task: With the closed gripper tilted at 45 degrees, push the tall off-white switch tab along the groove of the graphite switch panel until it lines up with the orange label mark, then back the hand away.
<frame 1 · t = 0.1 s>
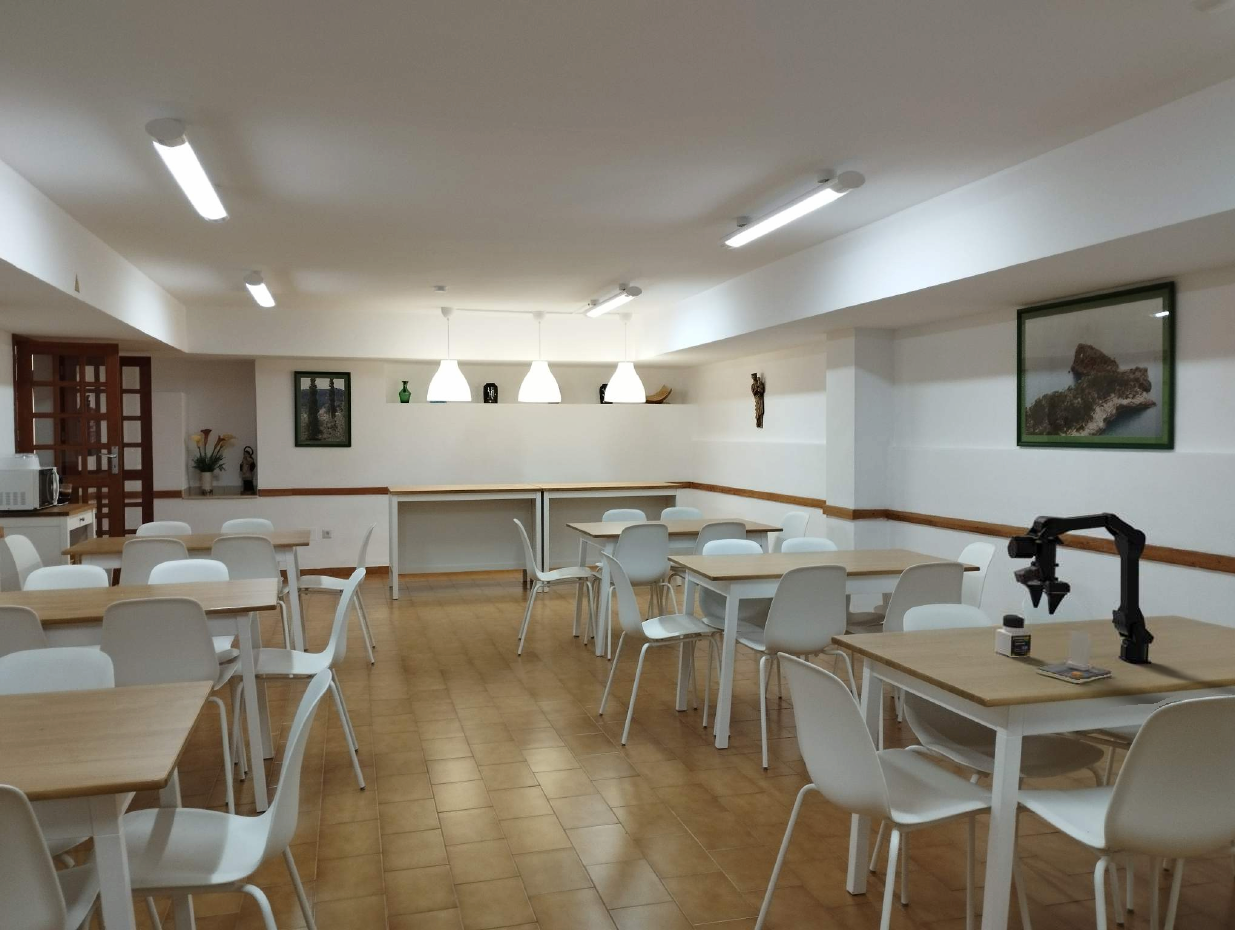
hand: (1043, 611, 264), 15 cm above the table, tool pointing down, fingers open, 9 cm apart
medicine bottle: (1012, 655, 271), on the table
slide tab: (1079, 650, 251), point 7 cm above the table, slide at 0.0 cm
switch panel: (1073, 674, 250), on the table
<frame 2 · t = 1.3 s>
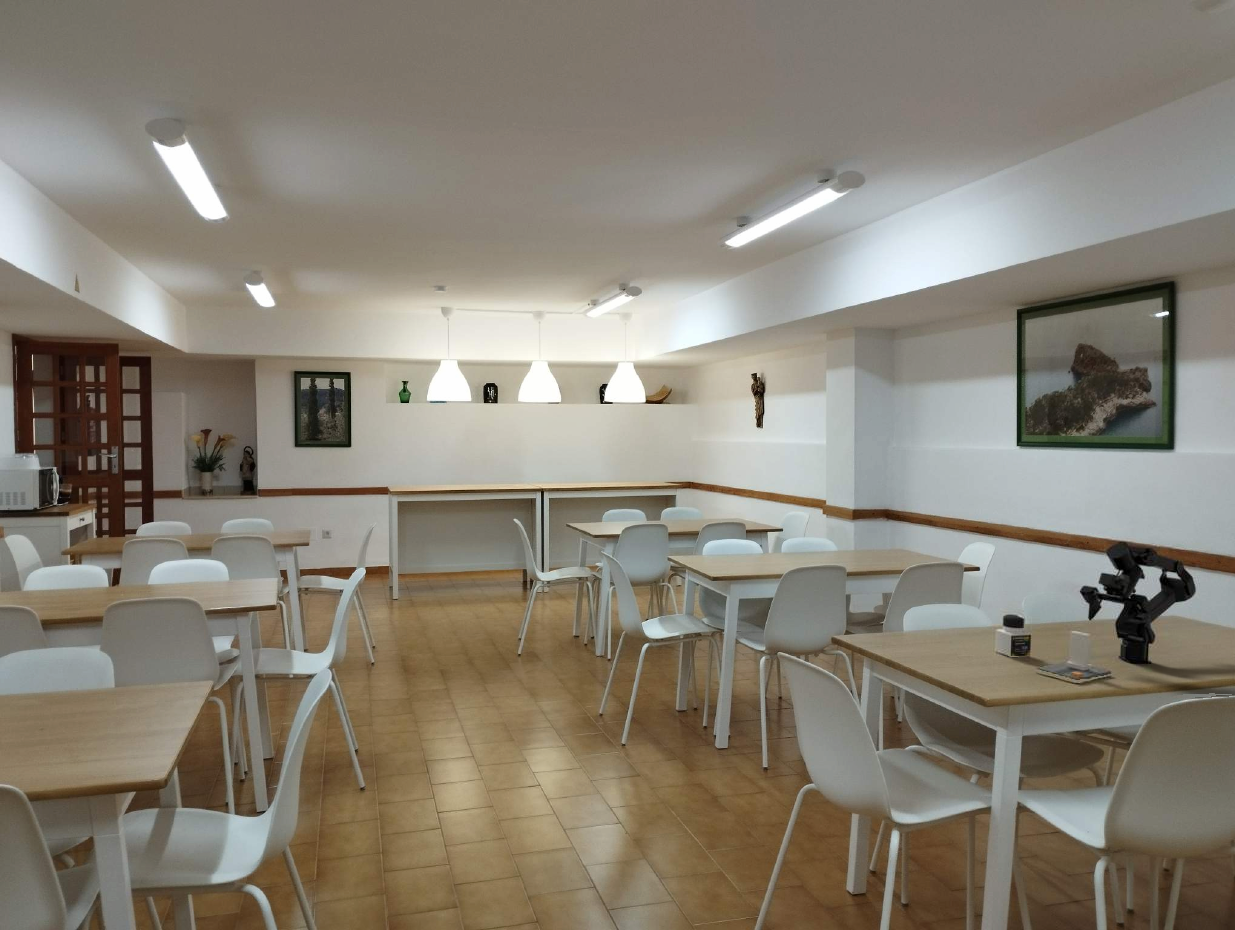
hand: (1102, 622, 256), 13 cm above the table, tool tilted 45°, fingers open, 8 cm apart
nothing on the table moved.
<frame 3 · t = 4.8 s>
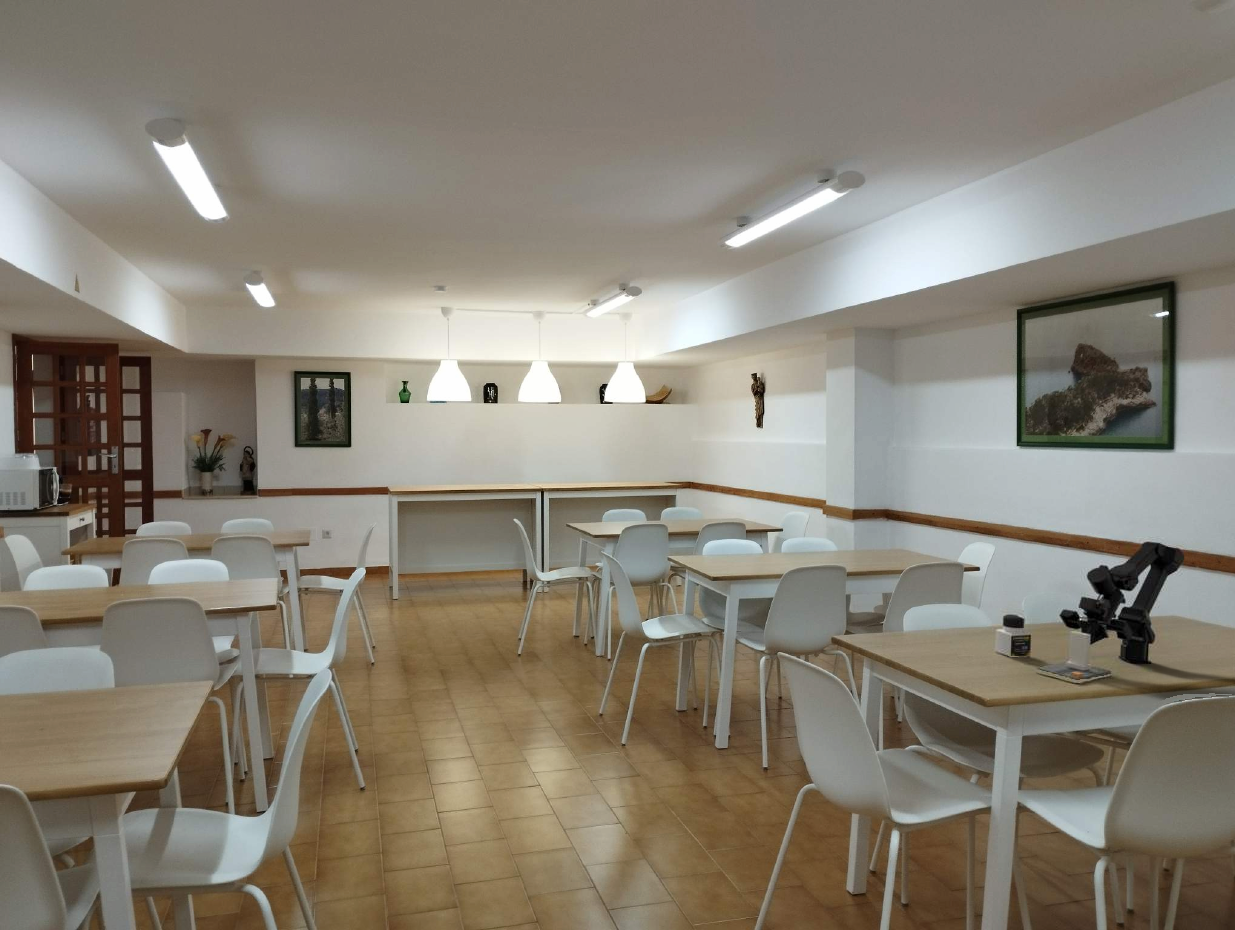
hand: (1082, 647, 251), 7 cm above the table, tool tilted 45°, fingers closed, pressing on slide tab
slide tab: (1079, 650, 251), point 7 cm above the table, slide at 0.1 cm, touching gripper
everything else where it was.
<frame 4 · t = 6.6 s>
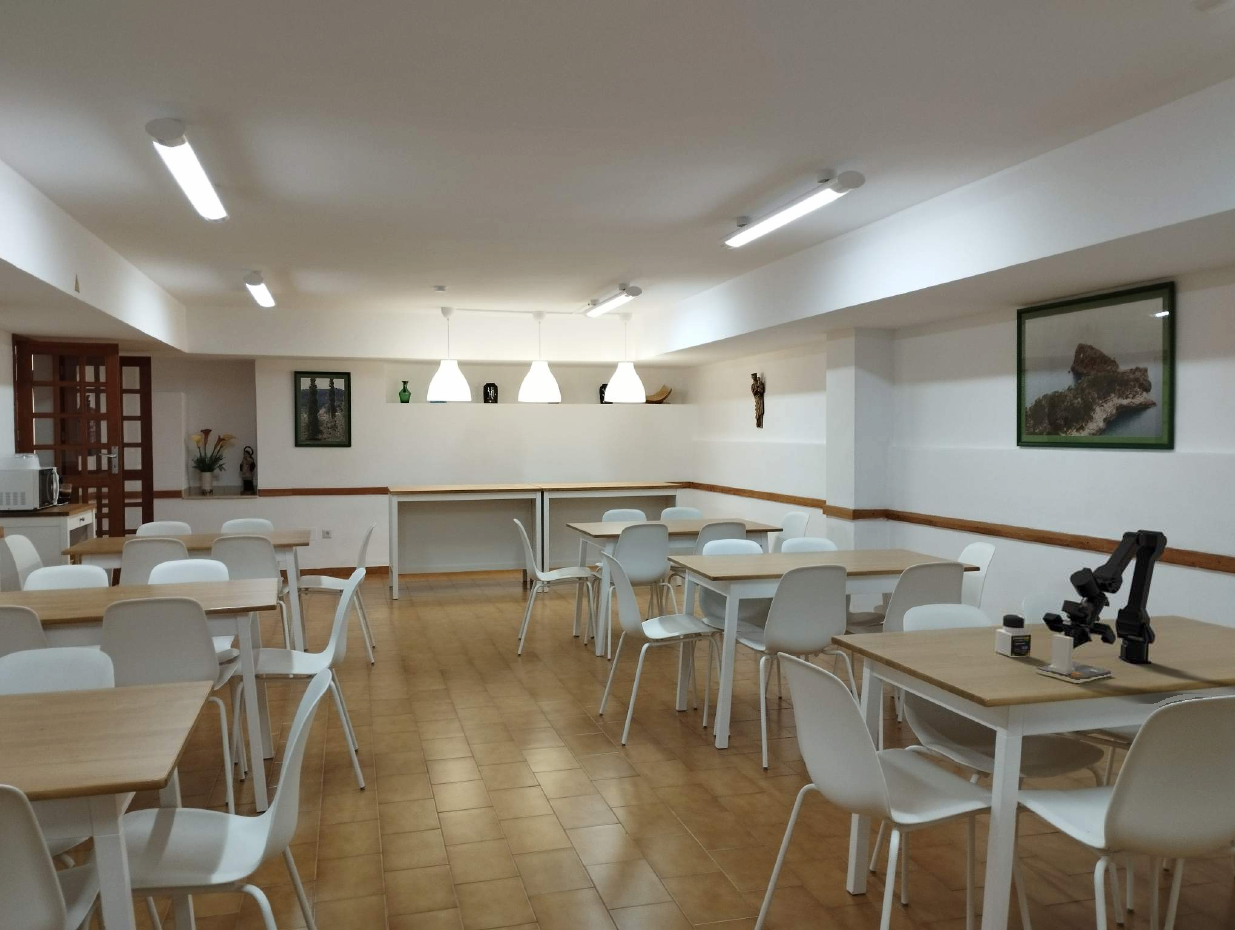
hand: (1065, 651, 247), 7 cm above the table, tool tilted 45°, fingers closed, pressing on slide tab
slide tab: (1062, 653, 246), point 7 cm above the table, slide at 8.2 cm, touching gripper
everything else where it was.
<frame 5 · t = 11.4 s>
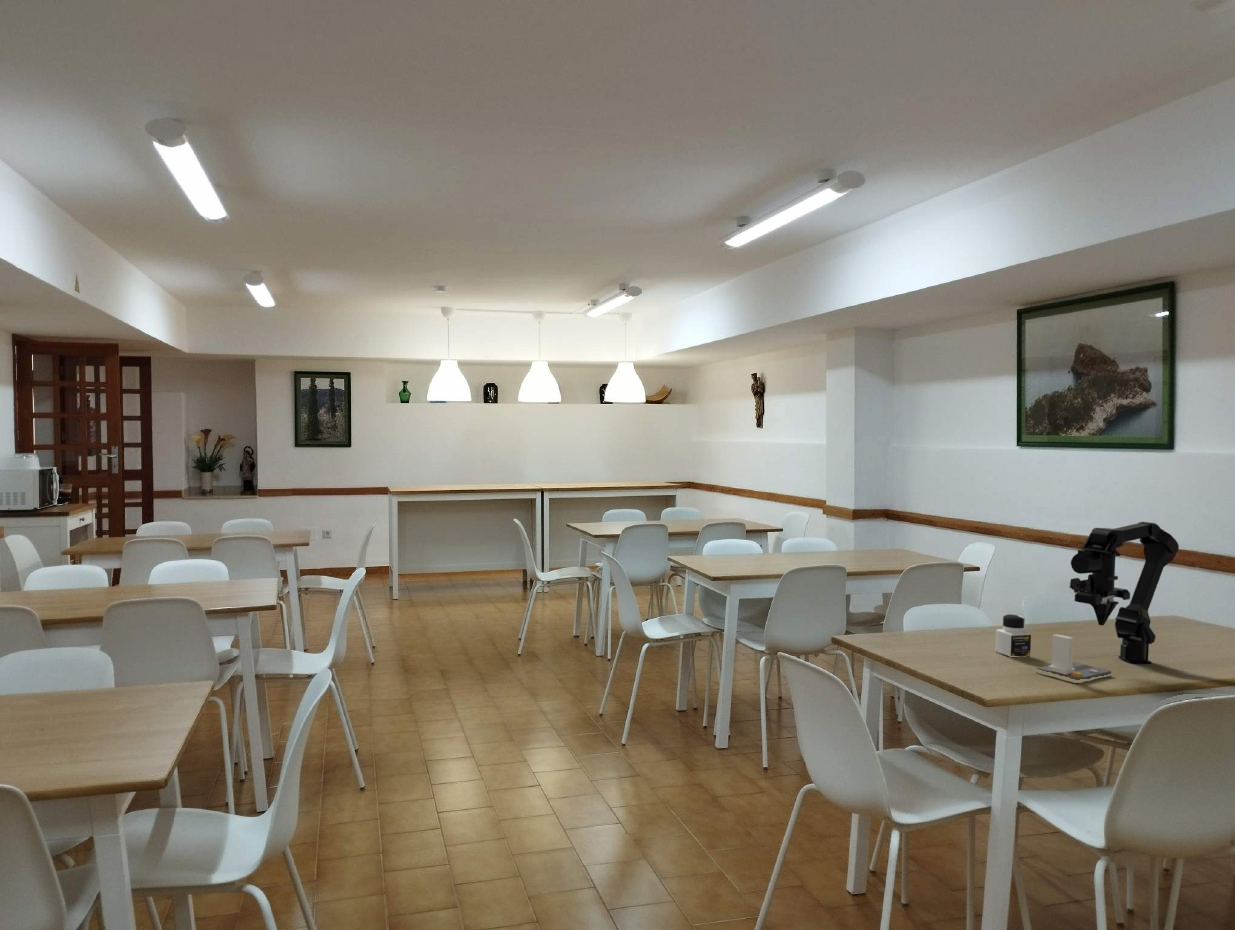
hand: (1101, 625, 259), 12 cm above the table, tool pointing down, fingers closed
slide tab: (1062, 653, 246), point 7 cm above the table, slide at 8.2 cm
everything else where it was.
at the end: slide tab slide at 8.2 cm; medicine bottle moved 0.2 cm from its start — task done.
